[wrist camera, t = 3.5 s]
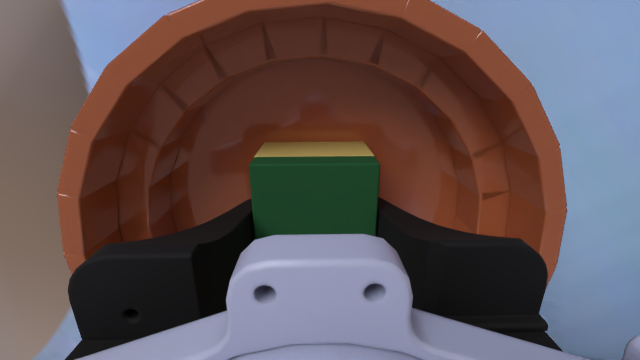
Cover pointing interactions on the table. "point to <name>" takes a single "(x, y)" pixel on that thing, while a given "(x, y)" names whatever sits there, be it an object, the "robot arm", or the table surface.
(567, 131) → the table surface
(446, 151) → the bowl
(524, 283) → the robot arm
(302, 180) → the sponge
